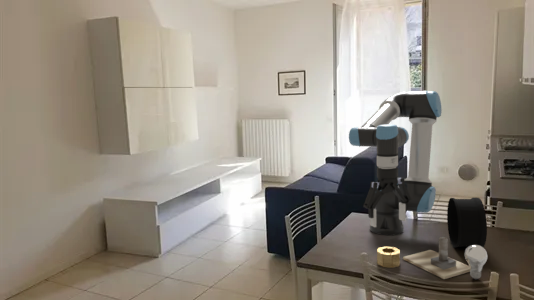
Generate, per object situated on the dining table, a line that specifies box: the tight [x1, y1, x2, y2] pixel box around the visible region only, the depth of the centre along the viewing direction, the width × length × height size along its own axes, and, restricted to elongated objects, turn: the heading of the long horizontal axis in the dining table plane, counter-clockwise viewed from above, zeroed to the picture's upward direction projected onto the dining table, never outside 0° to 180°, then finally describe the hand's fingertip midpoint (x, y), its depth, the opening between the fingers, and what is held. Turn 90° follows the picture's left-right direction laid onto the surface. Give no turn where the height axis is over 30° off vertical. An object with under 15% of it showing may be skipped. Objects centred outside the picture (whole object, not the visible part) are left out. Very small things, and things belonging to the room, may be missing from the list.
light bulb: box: [464, 245, 488, 280], centre depth 142 cm, size 7×7×12 cm
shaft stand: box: [402, 236, 470, 280], centre depth 155 cm, size 20×14×11 cm
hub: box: [376, 246, 401, 269], centre depth 159 cm, size 8×8×5 cm
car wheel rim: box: [446, 197, 488, 248], centre depth 170 cm, size 20×10×20 cm, turn 168°
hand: (388, 223), depth 157 cm, fingers open, 13 cm apart
